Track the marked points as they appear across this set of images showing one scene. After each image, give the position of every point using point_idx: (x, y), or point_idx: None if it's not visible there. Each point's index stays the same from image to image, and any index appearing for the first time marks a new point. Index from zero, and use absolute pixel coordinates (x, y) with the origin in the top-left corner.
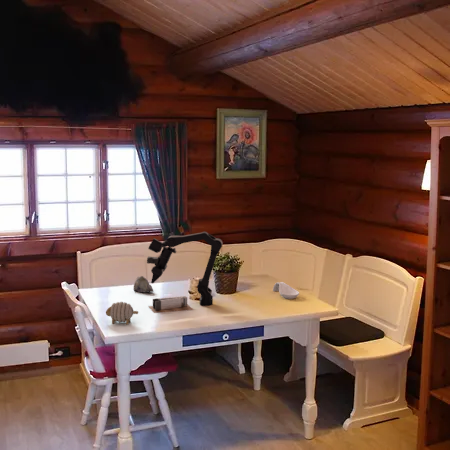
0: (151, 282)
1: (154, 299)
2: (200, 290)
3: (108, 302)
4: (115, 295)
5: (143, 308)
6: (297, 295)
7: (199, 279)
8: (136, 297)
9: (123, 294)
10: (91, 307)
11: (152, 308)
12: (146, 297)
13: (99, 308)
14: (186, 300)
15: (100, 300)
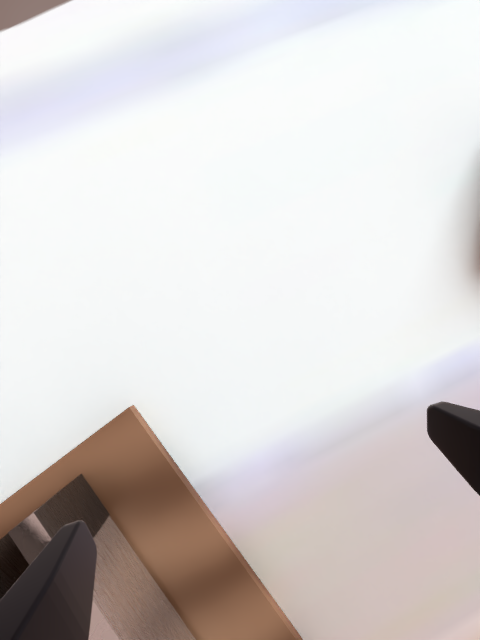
0: (61, 535)
1: (18, 544)
2: None
3: (200, 71)
4: (374, 51)
5: (124, 365)
6: None
7: None
8: (386, 192)
9: (417, 87)
10: (45, 18)
11: (72, 474)
12: (414, 256)
13: (34, 72)
14: None
15: (228, 10)
